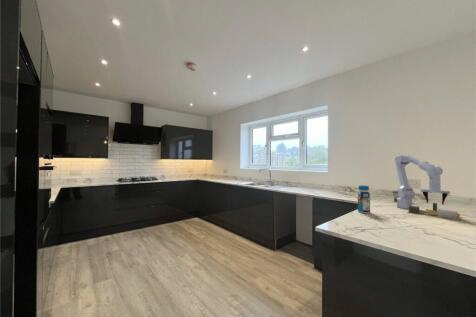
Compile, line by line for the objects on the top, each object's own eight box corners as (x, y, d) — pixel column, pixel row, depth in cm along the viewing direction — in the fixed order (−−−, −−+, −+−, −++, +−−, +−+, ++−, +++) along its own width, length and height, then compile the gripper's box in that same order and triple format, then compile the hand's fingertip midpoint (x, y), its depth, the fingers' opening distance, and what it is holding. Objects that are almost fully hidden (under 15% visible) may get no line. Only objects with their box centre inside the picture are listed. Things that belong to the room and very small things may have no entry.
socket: (409, 212, 148) (409, 206, 148) (410, 211, 153) (410, 205, 153) (418, 213, 145) (418, 207, 145) (419, 212, 149) (419, 206, 149)
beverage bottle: (358, 210, 160) (358, 185, 160) (371, 211, 155) (370, 185, 155) (356, 212, 153) (356, 186, 154) (369, 214, 148) (369, 186, 148)
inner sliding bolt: (425, 213, 143) (425, 202, 143) (426, 212, 145) (426, 201, 145) (459, 218, 131) (459, 206, 131) (459, 217, 133) (459, 205, 133)
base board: (406, 214, 147) (406, 212, 147) (409, 211, 155) (409, 210, 155) (460, 222, 128) (460, 220, 128) (460, 218, 136) (460, 217, 136)
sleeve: (437, 216, 138) (437, 210, 138) (438, 215, 141) (438, 209, 141) (457, 219, 131) (457, 212, 131) (457, 218, 134) (457, 211, 134)
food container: (407, 201, 192) (407, 191, 193) (409, 203, 187) (409, 192, 187) (391, 200, 199) (391, 190, 199) (392, 201, 193) (392, 191, 194)
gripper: (419, 183, 144) (420, 202, 143) (449, 185, 133) (449, 206, 133) (421, 182, 148) (421, 201, 148) (449, 184, 137) (450, 204, 137)
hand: (435, 203), depth 141 cm, fingers open, 7 cm apart
